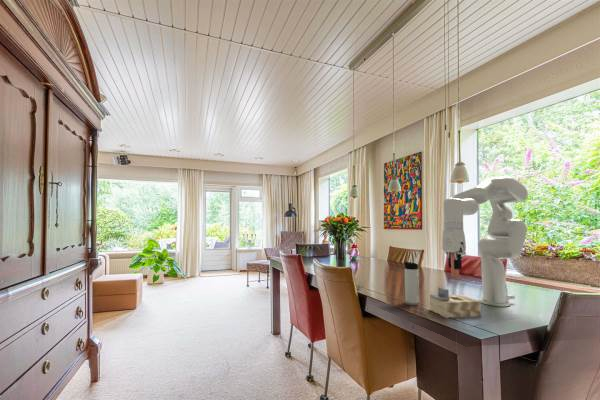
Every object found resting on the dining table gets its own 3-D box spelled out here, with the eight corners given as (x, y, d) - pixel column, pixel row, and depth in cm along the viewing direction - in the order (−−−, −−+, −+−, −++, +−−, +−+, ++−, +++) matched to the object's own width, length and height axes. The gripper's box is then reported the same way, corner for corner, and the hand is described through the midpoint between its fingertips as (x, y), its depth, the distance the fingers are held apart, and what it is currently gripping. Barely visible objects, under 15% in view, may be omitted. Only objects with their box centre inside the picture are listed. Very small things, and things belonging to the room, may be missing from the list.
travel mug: (402, 302, 145) (401, 260, 146) (415, 301, 145) (414, 260, 147) (408, 305, 139) (407, 262, 140) (421, 305, 139) (420, 262, 141)
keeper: (440, 296, 131) (440, 286, 131) (449, 300, 125) (449, 290, 125) (430, 297, 130) (429, 287, 130) (438, 300, 124) (437, 290, 124)
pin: (456, 275, 132) (455, 247, 133) (463, 277, 127) (462, 248, 128) (446, 275, 131) (445, 247, 132) (453, 277, 126) (452, 248, 127)
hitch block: (462, 308, 134) (462, 294, 135) (480, 316, 124) (480, 301, 124) (430, 309, 132) (429, 296, 133) (445, 317, 121) (445, 302, 122)
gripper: (434, 226, 138) (436, 265, 137) (458, 226, 122) (459, 271, 121) (449, 226, 139) (450, 265, 138) (474, 226, 123) (476, 271, 122)
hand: (455, 268), depth 129 cm, fingers closed on pin, 3 cm apart
